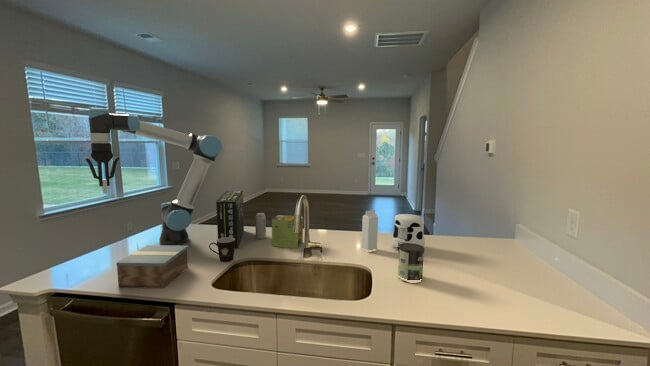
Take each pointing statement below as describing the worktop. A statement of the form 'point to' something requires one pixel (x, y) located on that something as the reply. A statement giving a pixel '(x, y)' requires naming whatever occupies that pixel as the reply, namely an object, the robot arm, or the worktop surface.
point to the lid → (152, 255)
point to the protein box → (286, 232)
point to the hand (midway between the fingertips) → (105, 193)
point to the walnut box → (152, 274)
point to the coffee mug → (225, 248)
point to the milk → (369, 230)
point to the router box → (230, 216)
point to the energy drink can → (260, 225)
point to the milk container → (408, 230)
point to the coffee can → (411, 261)
